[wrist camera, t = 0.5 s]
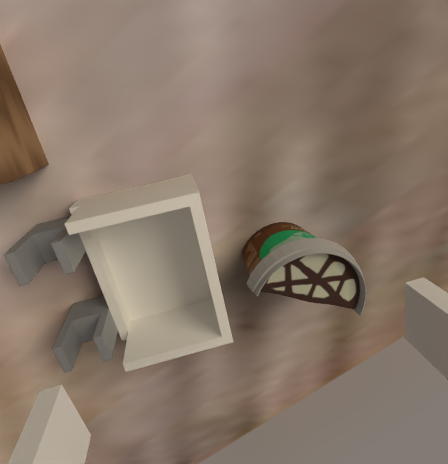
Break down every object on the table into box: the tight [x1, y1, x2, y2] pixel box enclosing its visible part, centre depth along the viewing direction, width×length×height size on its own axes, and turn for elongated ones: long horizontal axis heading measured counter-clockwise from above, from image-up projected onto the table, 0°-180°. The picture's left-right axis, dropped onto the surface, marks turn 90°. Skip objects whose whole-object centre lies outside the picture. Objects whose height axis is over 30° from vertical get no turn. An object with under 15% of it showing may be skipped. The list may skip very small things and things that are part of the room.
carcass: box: [4, 174, 233, 372], centre depth 33 cm, size 16×17×8 cm
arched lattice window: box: [242, 222, 367, 316], centre depth 34 cm, size 12×6×10 cm, turn 72°
